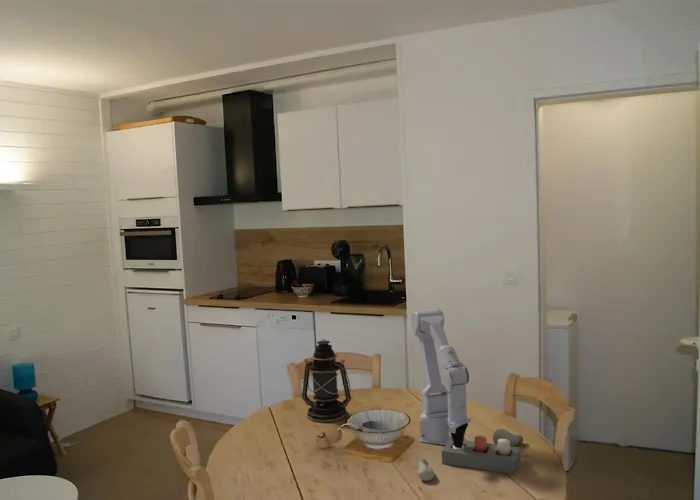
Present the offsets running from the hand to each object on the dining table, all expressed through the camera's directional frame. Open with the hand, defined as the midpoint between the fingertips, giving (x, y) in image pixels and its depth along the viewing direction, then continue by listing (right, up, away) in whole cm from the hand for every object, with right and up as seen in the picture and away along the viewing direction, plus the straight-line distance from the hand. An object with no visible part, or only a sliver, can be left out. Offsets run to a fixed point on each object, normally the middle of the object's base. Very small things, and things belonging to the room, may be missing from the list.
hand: (458, 447), depth 180 cm
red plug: (+6, 0, -3) cm, 7 cm away
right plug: (+13, 0, -6) cm, 14 cm away
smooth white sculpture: (-11, -6, -10) cm, 16 cm away
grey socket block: (+7, -4, -3) cm, 8 cm away
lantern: (-43, -3, +43) cm, 61 cm away
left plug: (0, -4, 0) cm, 4 cm away
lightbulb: (+23, -1, +9) cm, 25 cm away
